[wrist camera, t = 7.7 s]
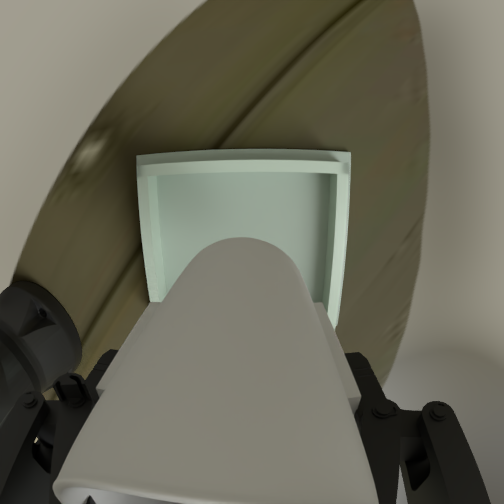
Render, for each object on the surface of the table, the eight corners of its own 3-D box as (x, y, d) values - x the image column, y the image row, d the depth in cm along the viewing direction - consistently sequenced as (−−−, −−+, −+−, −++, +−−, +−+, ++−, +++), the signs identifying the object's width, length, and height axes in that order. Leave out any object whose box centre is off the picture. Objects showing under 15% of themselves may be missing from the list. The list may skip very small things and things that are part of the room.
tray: (155, 323, 31) (147, 337, 28) (137, 155, 26) (125, 155, 23) (336, 323, 31) (342, 337, 28) (349, 152, 26) (359, 152, 23)
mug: (226, 201, 13) (84, 423, 2) (336, 282, 14) (443, 509, 3) (132, 341, 16) (40, 512, 5) (225, 396, 17) (201, 574, 6)
